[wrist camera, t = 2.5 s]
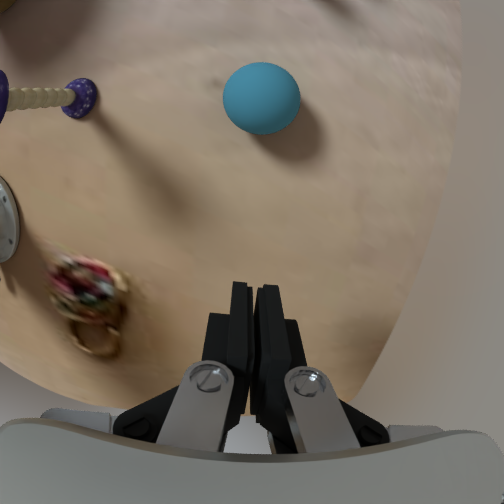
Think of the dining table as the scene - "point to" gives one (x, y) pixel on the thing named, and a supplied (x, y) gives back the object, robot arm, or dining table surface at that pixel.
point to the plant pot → (5, 4)
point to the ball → (261, 98)
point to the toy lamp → (49, 97)
